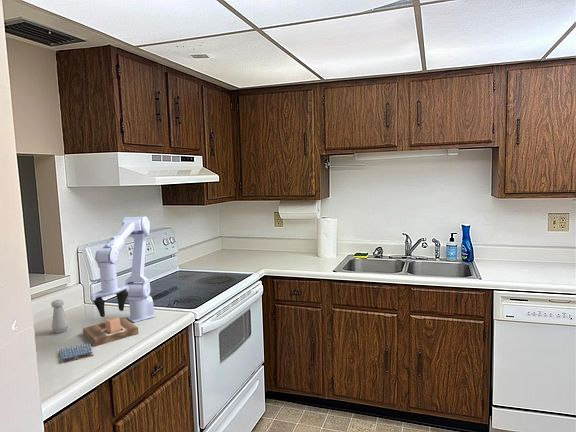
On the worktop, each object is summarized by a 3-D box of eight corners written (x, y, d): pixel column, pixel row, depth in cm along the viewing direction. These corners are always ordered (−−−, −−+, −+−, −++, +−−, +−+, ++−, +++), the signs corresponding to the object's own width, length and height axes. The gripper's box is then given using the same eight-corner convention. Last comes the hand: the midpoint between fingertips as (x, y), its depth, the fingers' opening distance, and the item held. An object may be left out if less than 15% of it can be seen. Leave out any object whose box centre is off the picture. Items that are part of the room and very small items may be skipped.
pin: (116, 333, 167) (114, 316, 166) (121, 336, 165) (119, 318, 164) (106, 337, 164) (104, 319, 163) (111, 339, 162) (110, 322, 161)
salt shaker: (71, 328, 175) (68, 297, 173) (64, 333, 169) (61, 302, 167) (56, 329, 175) (53, 298, 173) (49, 334, 169) (46, 303, 167)
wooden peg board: (124, 323, 178) (123, 317, 178) (138, 333, 166) (138, 327, 166) (83, 334, 168) (82, 327, 168) (95, 346, 156) (95, 339, 156)
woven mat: (90, 346, 157) (90, 341, 157) (94, 357, 148) (94, 351, 148) (59, 354, 152) (58, 348, 151) (60, 365, 143) (60, 359, 142)
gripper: (120, 273, 169) (123, 306, 171) (84, 282, 158) (88, 317, 160) (130, 275, 165) (133, 309, 167) (94, 284, 154) (97, 320, 155)
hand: (112, 313), depth 163 cm, fingers open, 7 cm apart
